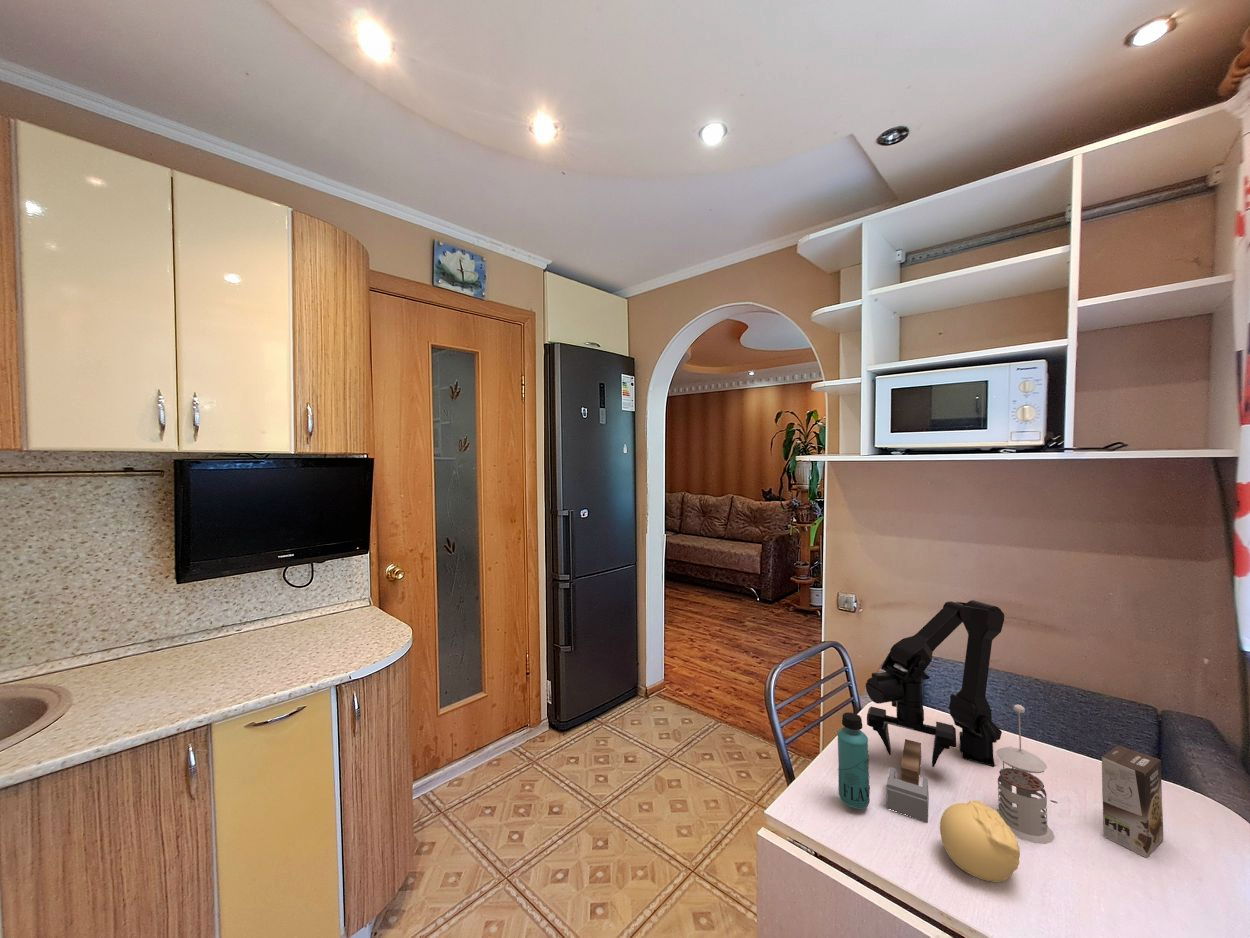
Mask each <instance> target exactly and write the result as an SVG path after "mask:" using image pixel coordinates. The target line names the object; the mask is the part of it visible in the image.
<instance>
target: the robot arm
mask: <svg viewBox="0 0 1250 938" xmlns="http://www.w3.org/2000/svg"><path fill="white" fill-rule="evenodd" d="M1004 622H1005V613H1004V612H1003V611H1002V609H1001V608H1000V607H998V606H995V605H993V604H988V603H985V602H981V601H979V600H978V601H977V600H974V599H971V600H969V601H967V602H964V601H963V602H962V601H952V600H951V601H946V602H944V603H943V606H942V608H941V609H940V610H939V611H938V612H937V613H936V614H935V615H934V616H933V617H932V618H931V619H930V620H929V621H927V623H926V624H925V625H923V627H921V628H920V629H919V631H917V632H916V633H915V634H914V635H912V636H908V637H904V638H902V639H900V640H899V641H897V642H896V643H894V644H893V645H892V646H891V648H890V650H889V652H888V654H887V656H886V658H885V660H884V661H883V663H882V665H881V667H880V669H881V670H882V671H883V672H872V673H871V677H869V678H868V679H867V680H866V683H865V690H866V694H867V695H868V697H869V699H870V700H871V701H872V702H873V703H875V704H884V703H890V702H891V706H892V707H894V708H896V709H895V711H896V716H892V715H887V710H886V709H885V708H881V707H876V706H869V708H868V710H867V714H866V725H867V726H869V727H872V730H873V731H875V732H877V733H878V735H879V737H880V739H881V741H882V742H883V745H884V747H885V749H886V752H887V754H888V755H889V756H891V755H892V751H891V750H892V747H891V739H890V733H889V725H891V726H895V727H900V728H904V729H906V730H911V731H914V732H919V733H924V734H926V735H932V736H934V740H933V741H934V742H933V748H932V749H933V750H932V757H931V766H932V767H933V768H935V766H936V763H937V762H938V760H939V757H940V755H941V754H942V753H943V752H944V750H950V749H951V748H957V732H956V731H957V730H956V729H957V728H955V726H957V727H959V728H961V731H959V751H960V753H962V758H963V759H965V760H968V761H969V760H970V761H973V762H977V763H980V764H984V765H988V766H992V767H995V766H996V765H995V758H994V744H996V743H997V741H1000V740H1001V737H1002V733H1003V732H1002V730H1001V729H1000V728H999V727H998V726H997V725H996V724H995V723H994V722H993V721H992V719H993V718H992V714H993V713H992V709H991V707H990V704H989V702H988V700H987V698H986V694H987V685H988V678H989V669H990V660H991V654H992V653H991V652H992V644H993V640H994V639H995V638H996V637H998V635H1000V634H1001V632H1002V630H1003V626H1004ZM961 624H962V625H963V626H964V627H965V630H966V632H967V643H966V652H965V658H964V666H963V673H962V674H963V675H962V681H961V682H962V683H961V689H960V690H959V691H958V692H957V693H955V694H954V693H951V694H950V697H949V698H950V699H949V706H948V709H949V715H950V717H951V718H952V720H953V723H954V725H953V724H949V723H945V722H940V721H935V726H934V725H930V724H926V723H924V722H925V709H924V705H923V704H924V696H923V695H924V694H923V691H924V690H923V681H926V680H929V679H930V678H931V677H930V675H928V674H927V673H926V672H925V671H926V669H927V668H928V667H929V665H930V664H931V662H932V660H933V652H934V651H935V649H937V647H939V646H940V645H941V644H942V643H943V641H945V640H946V639H947V638H948V637H949V636H950V635H951V634H952V633H953V632H955V630H956V629H957V628H958V627H959V626H960V625H961ZM895 665H896V666H897V667H896V666H895ZM900 668H902V669H903V670H902V669H900Z"/></svg>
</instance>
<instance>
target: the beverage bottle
mask: <svg viewBox="0 0 1250 938" xmlns="http://www.w3.org/2000/svg"><path fill="white" fill-rule="evenodd" d="M841 724H842V726H843V727H842V728H840V729H839V730H838V731H837V735H836V736H837V755H838V756H837V757H838V760H837V761H838V767H837V771H838V772H837V777H838V780H837V781H838V784H837V789H838V797H839V798H840V800H841V801H842V803H844V804H845V805H846V806H848V807H850V808H853V809H859V810H860V809H862V810H863V809H867V807H868V806H869V805H870V801H871V800H870V796H871V785H870V769H869V768H870V757H869V756H870V755H869V752H870V751H869V738H868V736H867V734H866V733H865V732H864V731H862V729H863V720H862V717H861V716H860V715H859V714H857V713H854V712H848V711H847V712H844V713H843V714H842V720H841Z"/></svg>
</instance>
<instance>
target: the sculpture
mask: <svg viewBox="0 0 1250 938" xmlns="http://www.w3.org/2000/svg"><path fill="white" fill-rule="evenodd" d="M996 810H997V809H994V808H993V807H990V806H988V805H987V804H985V803H984V802H982V801H980V800H969V802H968V803H965V802H959V803H955V804H952V805H950V806H948V807H947V808H946V809H944V812H943V813H942V815H941V818H940V822H939V823H940V824H939V833H940V838H941V841H942V842H941V843H942V844H943V847H944V849H945V851H946V853H947V855H948V857H949V858H950V859H951V861H953V863H954V864H955V865H956V866H957V867H959V868H960V869H961V870H962V871H964V872H966V874H967V873H968V874H970V875H971V876H973V877H975V878H977V879H981V880H983V881H988V882H993V883H999V882H1001V883H1002V882H1003V881H1006V880H1008V879H1009V878H1010V877H1011V875H1012V874H1013V873H1014V872H1015V871H1017V869H1018V867H1019V865H1020V856H1021V850H1020V845H1019V841H1018V839H1017V837H1016V836H1015V834H1014V833H1013V832H1012V831H1011V829H1010V827H1009V826H1008V825H1007V824H1006V823H1005V821H1004V820H1003V819H1002V818H1001V816H1000V814H999V813H998V812H997V811H996Z"/></svg>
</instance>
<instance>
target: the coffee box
mask: <svg viewBox="0 0 1250 938" xmlns="http://www.w3.org/2000/svg"><path fill="white" fill-rule="evenodd" d="M1101 780H1102V781H1101V784H1102V790H1101V791H1102V792H1101V793H1102V819H1103V820H1102V827H1103V829H1102V831H1103V833H1102V835H1103V837H1104V838H1106V839H1108V840H1110V841H1111V842H1114V843H1115V844H1118V845H1120V846H1122V847H1124V848H1126V849H1127V850H1130V851H1132V852H1134V853H1136V854H1138V855H1140V856H1141V855H1142V857H1143V856H1144V857H1143V858H1149V856H1150V855H1151V854H1152V853H1153V852H1154V851H1155V850H1156V849H1157V848H1158V847H1159V846H1160V845H1161V844H1162V843H1163V842H1164V813H1163V810H1164V809H1163V788H1162V786H1163V785H1162V783H1163V782H1162V759H1159V758H1157V757H1154V756H1151V755H1149V754H1146V753H1143V752H1140V751H1138V750H1134V749H1130V748H1128V747H1125V746H1122V745H1120V744H1117V745H1115V747H1113V748H1112V749H1111V750H1109V751H1108V752H1107V753H1105V754H1104V755H1102V756H1101Z"/></svg>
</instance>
